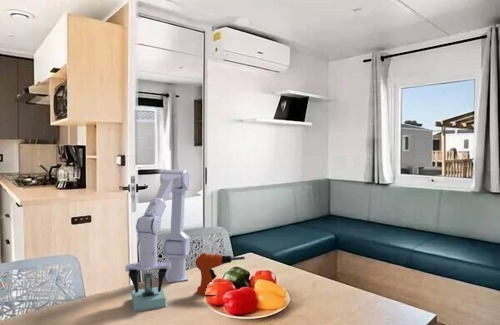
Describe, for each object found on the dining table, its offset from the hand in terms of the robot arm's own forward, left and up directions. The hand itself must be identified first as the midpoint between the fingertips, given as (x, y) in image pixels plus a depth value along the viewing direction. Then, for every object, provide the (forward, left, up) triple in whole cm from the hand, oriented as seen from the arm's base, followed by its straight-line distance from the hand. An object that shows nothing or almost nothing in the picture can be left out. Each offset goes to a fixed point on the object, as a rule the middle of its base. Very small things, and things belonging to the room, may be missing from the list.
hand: (148, 291), depth 120 cm
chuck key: (0, 0, -4) cm, 4 cm away
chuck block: (0, 0, -4) cm, 4 cm away
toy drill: (+1, +25, -4) cm, 25 cm away
